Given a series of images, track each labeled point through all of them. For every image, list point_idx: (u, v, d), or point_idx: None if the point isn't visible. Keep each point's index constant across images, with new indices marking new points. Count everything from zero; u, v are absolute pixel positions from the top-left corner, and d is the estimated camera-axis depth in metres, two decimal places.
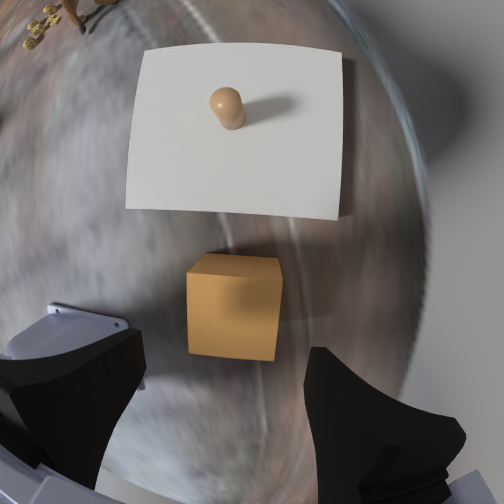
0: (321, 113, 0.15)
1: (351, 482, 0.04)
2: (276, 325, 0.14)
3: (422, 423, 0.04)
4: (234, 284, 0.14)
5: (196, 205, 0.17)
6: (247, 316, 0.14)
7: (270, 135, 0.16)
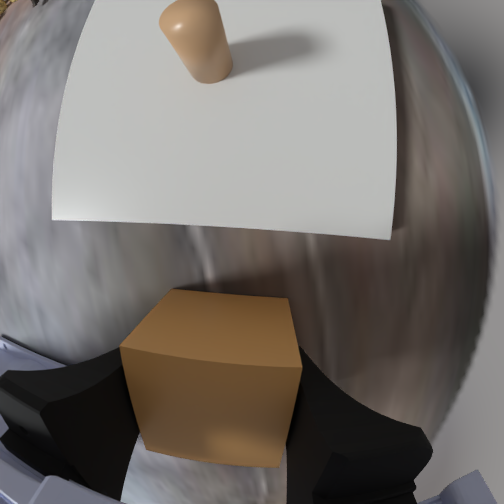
0: (359, 61, 0.08)
1: (308, 487, 0.04)
2: (285, 430, 0.07)
3: (382, 431, 0.04)
4: (206, 373, 0.07)
5: (148, 213, 0.09)
6: (234, 419, 0.07)
7: (275, 90, 0.08)
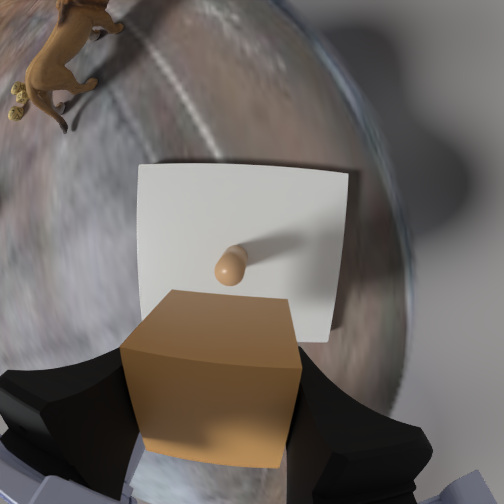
0: (321, 249, 0.18)
1: (308, 487, 0.04)
2: (285, 431, 0.07)
3: (382, 431, 0.04)
4: (206, 374, 0.07)
5: None
6: (234, 420, 0.07)
7: (271, 274, 0.18)
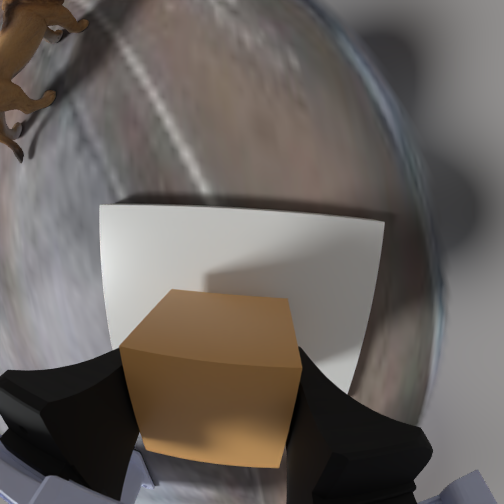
0: (342, 322, 0.13)
1: (308, 487, 0.04)
2: (285, 431, 0.07)
3: (382, 431, 0.04)
4: (206, 373, 0.07)
5: None
6: (234, 419, 0.07)
7: None
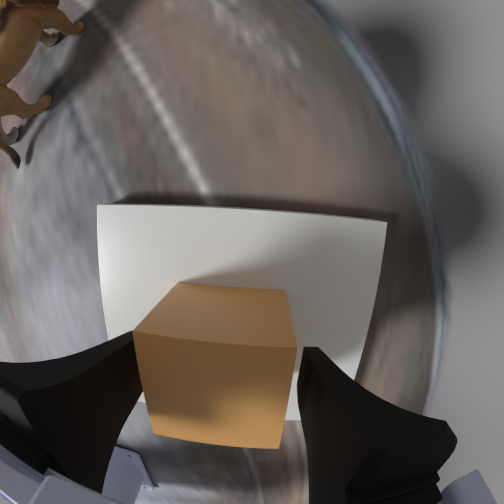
0: (343, 324, 0.13)
1: (339, 484, 0.04)
2: (284, 409, 0.08)
3: (411, 425, 0.04)
4: (212, 354, 0.08)
5: None
6: (236, 398, 0.08)
7: None
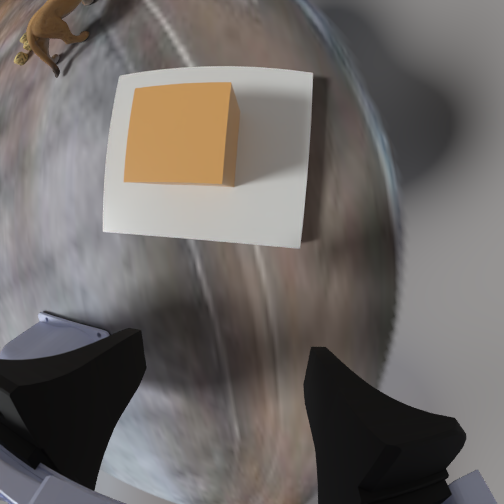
0: (287, 139, 0.16)
1: (351, 482, 0.04)
2: (224, 132, 0.11)
3: (421, 423, 0.04)
4: (179, 91, 0.11)
5: (165, 231, 0.18)
6: (191, 123, 0.11)
7: None
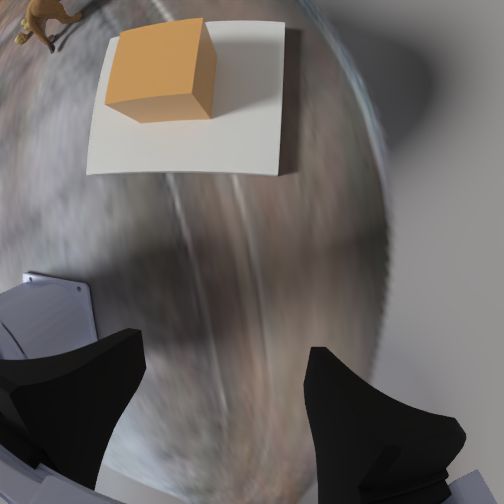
0: (261, 75, 0.15)
1: (351, 482, 0.04)
2: (195, 53, 0.11)
3: (421, 423, 0.04)
4: (158, 28, 0.10)
5: (144, 166, 0.17)
6: (166, 50, 0.11)
7: None
